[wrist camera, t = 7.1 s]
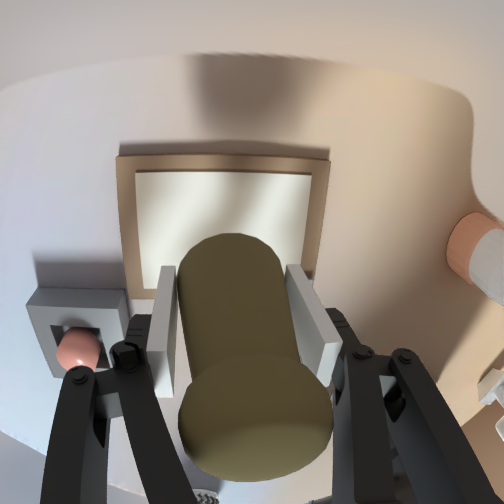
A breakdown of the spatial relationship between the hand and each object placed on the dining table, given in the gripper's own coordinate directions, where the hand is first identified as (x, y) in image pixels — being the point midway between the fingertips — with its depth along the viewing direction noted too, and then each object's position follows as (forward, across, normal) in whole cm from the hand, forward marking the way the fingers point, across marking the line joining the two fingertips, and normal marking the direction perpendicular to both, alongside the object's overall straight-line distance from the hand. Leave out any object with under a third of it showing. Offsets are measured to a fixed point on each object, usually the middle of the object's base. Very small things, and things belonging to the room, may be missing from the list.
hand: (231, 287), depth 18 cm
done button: (+7, +13, +10) cm, 18 cm away
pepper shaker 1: (+1, 0, 0) cm, 1 cm away
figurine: (+9, -50, +29) cm, 59 cm away
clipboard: (+9, 0, 0) cm, 9 cm away
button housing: (+9, +13, +10) cm, 19 cm away
